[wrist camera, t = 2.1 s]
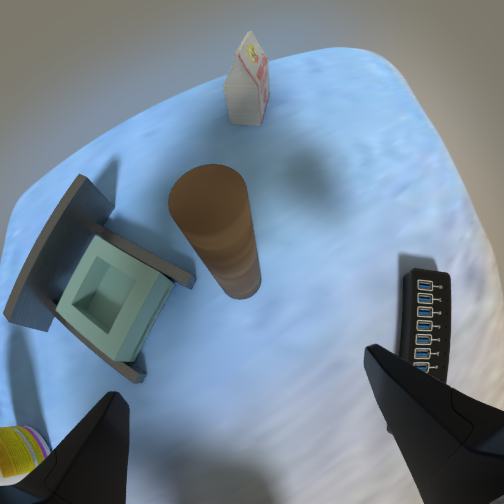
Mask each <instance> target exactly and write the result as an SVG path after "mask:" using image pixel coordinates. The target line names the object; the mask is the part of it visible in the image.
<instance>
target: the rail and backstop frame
mask: <svg viewBox="0 0 504 504" xmlns="http://www.w3.org/2000/svg"><path fill="white" fill-rule="evenodd" d="M113 209H114V206H113V205H112V204H111V203H110V202H109V201H108V200H107V199H106V198H105V197H104V196H103V194H102V193H101V192H100V191H99V190H98V189H97V188H96V187H95V186H94V184H93V183H92V182H91V181H90V180H89V179H88V178H87V177H85V176H83V175H81V174H79V175H78V176H77V177H76V179H75V180H74V181H73V183H72V184H71V186H70V187H69V189H68V190H67V191H66V193H65V194H64V196H63V197H62V199H61V200H60V202H59V203H58V205H57V207H56V208H55V210H54V211H53V213H52V215H51V216H50V218H49V219H48V221H47V223H46V224H45V226H44V228H43V230H42V231H41V233H40V235H39V237H38V238H37V240H36V242H35V244H34V246H33V248H32V249H31V251H30V253H29V255H28V257H27V259H26V261H25V263H24V265H23V267H22V269H21V272H20V274H19V276H18V278H17V280H16V282H15V285H14V287H13V289H12V292H11V294H10V296H9V299H8V301H7V304H6V307H5V309H4V312H3V314H4V316H5V317H6V319H7V320H8V322H11V323H14V324H18V325H21V326H25V327H29V328H32V329H36V330H40V331H44V332H48V329H49V327H50V325H51V322H52V320H53V318H54V316H55V317H56V318H57V319H58V320H59V321H60V322H61V323H62V324H63V325H64V326H65V327H66V328H67V329H68V330H70V331H71V332H72V333H73V334H74V335H75V336H76V337H77V338H78V339H79V340H80V341H82V342H83V343H84V344H85V345H86V346H87V347H88V348H90V349H91V350H92V351H93V352H94V353H95V354H97V355H98V356H99V357H100V358H101V359H103V360H104V361H105V362H106V363H108V364H109V365H110V366H111V367H113V368H114V369H115V370H117V371H118V372H119V373H121V374H122V375H123V376H125V377H126V378H127V379H129V380H130V381H131V382H133V383H134V384H137V383H142V382H143V380H144V378H145V376H146V373H145V372H144V371H142V370H141V369H139V368H138V367H136V366H135V365H134V364H132V363H131V362H124V361H113V360H112V359H111V358H109V357H108V356H107V355H106V354H104V353H103V352H102V351H101V350H99V349H98V348H97V347H96V346H95V345H93V344H92V343H91V342H90V341H89V340H87V339H86V338H85V337H84V336H83V335H82V334H81V333H79V332H78V331H77V330H76V329H75V328H74V327H73V326H72V325H71V324H70V323H69V322H67V321H66V320H65V319H64V318H63V317H62V316H61V315H60V314H59V313H58V312H57V311H56V308H57V306H58V304H59V301H60V299H61V297H62V295H63V293H64V291H65V289H66V287H67V285H68V283H69V281H70V279H71V277H72V276H73V274H74V272H75V270H76V268H77V266H78V264H79V263H80V261H81V259H82V257H83V255H84V254H85V252H86V250H87V248H88V247H89V245H90V243H91V242H92V240H93V238H94V237H95V235H96V236H98V237H100V238H101V239H103V240H105V241H106V242H108V243H110V244H111V245H113V246H115V247H116V248H118V249H120V250H121V251H123V252H125V253H127V254H128V255H130V256H132V257H133V258H135V259H137V260H139V261H140V262H142V263H144V264H146V265H148V266H149V267H151V268H153V269H155V270H156V271H158V272H160V273H161V274H163V275H165V276H167V277H169V278H171V279H172V280H174V281H176V282H178V283H180V284H182V285H184V286H185V287H187V288H189V289H192V287H193V285H194V283H195V281H196V280H197V279H196V278H195V277H194V276H193V275H192V274H190V273H188V272H186V271H184V270H182V269H180V268H178V267H176V266H174V265H172V264H170V263H168V262H167V261H165V260H163V259H161V258H159V257H157V256H155V255H153V254H151V253H150V252H148V251H146V250H144V249H142V248H140V247H138V246H137V245H135V244H133V243H131V242H129V241H127V240H126V239H124V238H122V237H120V236H118V235H117V234H115V233H113V232H111V231H109V230H108V229H106V228H104V227H102V226H103V225H104V223H105V222H106V220H107V219H108V217H109V216H110V214H111V213H112V211H113Z"/></svg>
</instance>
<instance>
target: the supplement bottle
mask: <svg viewBox="0 0 504 504" xmlns="http://www.w3.org/2000/svg"><path fill="white" fill-rule="evenodd" d="M50 453H51V452H50V449H49V447H48V445H47V444H46V442H45V440H44V439H43V437H42V436H41V435H40V434H39V433H38V432H37V431H36V430H35V429H33V428H31V427H29V426H13V427H0V486H5V485H13V484H16V483H18V482H20V481H21V480H22V479H23V478H24V477H26V476H27V475H28V474H29V473H30V472H31V471H32V470H34V469H35V468H36V467H37V466H38V465H39V464H40V463H41V462H42V461H43V460H44V459H45V458H46V457H47V456H48V455H49V454H50Z"/></svg>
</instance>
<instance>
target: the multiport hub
mask: <svg viewBox="0 0 504 504" xmlns="http://www.w3.org/2000/svg"><path fill="white" fill-rule="evenodd" d="M450 338H451V278H450V275H449V274H448V273H446V272H439V271H432V270H424V269H417V268H414V269H413V270H411V271H410V272H409V273H407V274H406V275H405V276H404V277H403V310H402V328H401V341H400V352H399V357H400V358H402V359H404V360H405V361H407V362H409V363H410V364H412V365H414V366H416V367H417V368H419V369H421V370H423V371H424V372H426V373H428V374H429V375H431V376H433V377H435V378H436V379H438V380H440V381H442V382H443V383H445V384H446V381H447V373H448V364H449V353H450ZM387 431H388V432H389V433H390V434H392V432H391V430H390V428H389V426H388V427H387ZM392 435H393V434H392Z"/></svg>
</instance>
